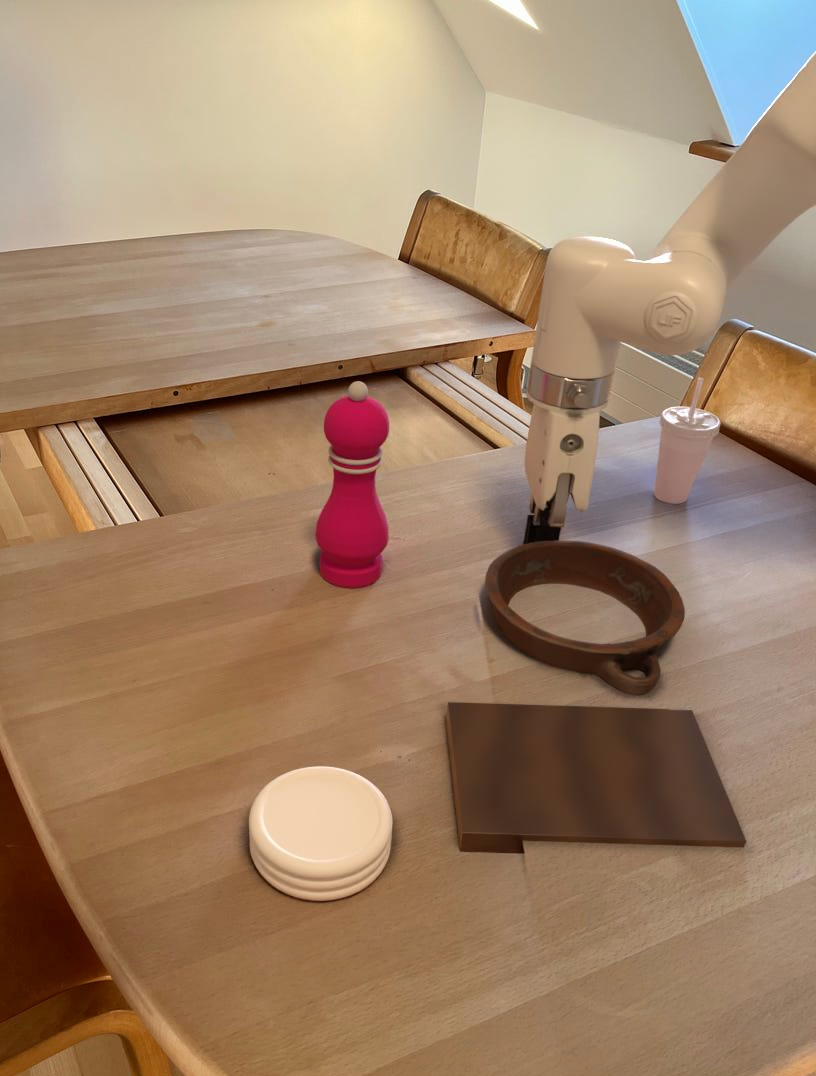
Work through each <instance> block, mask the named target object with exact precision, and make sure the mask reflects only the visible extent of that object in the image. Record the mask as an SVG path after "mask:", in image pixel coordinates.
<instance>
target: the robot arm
mask: <svg viewBox="0 0 816 1076" xmlns="http://www.w3.org/2000/svg"><path fill="white" fill-rule="evenodd" d="M815 206H816V50H815V51H814V53H812V55H811V56H810V57H809V59H808V60H807V61H806V63H804V65H803V66H802V67H801V68H800V70H799V71H798V72H797V73H796V75H795V76H794V77H793V78H792V79H791V81H789V82H788V84H787V85H786V86H785V88H783V90H782V91H781V92H780V93H779V95H777V97H776V98H775V99H774V100H773V102H772V103H771V105H770V106H769V107H768V108H767V109H766V110H765V112H764V113H763V114H762V115H761V117H760V118H759V119H758V120H757V121H756V122H755V124H754V125H753V126H752V127H751V129H750V130H749V132H748V133H747V134H746V136H745V138H744V139H743V140H742V142H741V144H740V145H739V146H738V147H737V148H736V150H735V151H734V153H732V155H731V156H730V157H729V158H728V159H727V161H726V162H725V163H724V164H723V166H721V167H720V169H719V170H718V171H717V172H716V174H715V175H714V176H713V177H712V178H711V180H710V181H709V182H708V183H707V184H706V185H705V186H704V188H703V189H702V190H701V191H700V193H699V194H698V195H697V196H696V198H695V199H694V200H693V201H692V202H691V204H690V205H689V206H688V207H687V209H686V210H685V211H684V212H683V213H682V215H680V217H679V218H678V219H677V220H676V222H675V223H674V224H673V225H672V227H671V228H670V229H669V230H668V232H667V233H666V234H665V235H663V238H661V240H660V241H659V243H658V244H657V245H656V246H655V247H654V249H653V250H652V251H651V253H650V254H649V256H648V257H647V258H646V260H645V261H643V260H637V259H636V256H635V253H634V251H632V249H631V248H630V247H629V246H628V245H626V244H623V243H622V242H620V241H616V240H613V239H610V238H605V237H597V236H576V237H575V236H574V237H570V238H569V237H568V238H565V239H562V240H560V241H559V242H557V243H555V245H554V246H553V247H551V249H550V251H549V253H548V256H547V258H546V264H545V267H544V268H545V269H544V275H543V281H542V282H543V283H542V288H541V289H542V290H541V296H540V302H539V309H538V315H537V320H536V321H537V322H536V328H535V334H534V340H533V347H532V354H531V361H530V368H529V373H528V380H527V386H526V393H525V396H526V399H527V400H528V401H529V402H530V403H532V404H533V406H532V411H531V416H530V421H529V427H528V432H527V438H526V445H525V452H524V453H525V454H524V471H525V475H526V479H527V483H528V485H529V489H530V491H531V493H530V500H529V506H528V509H529V511H528V512H529V514H527V517H526V518H527V519H526V523H525V530H524V535H523V540H522V541H523V542H522V545H524V544H528V543H533V542H539V541H555V540H558V541H560V536H561V530H562V528H564V527H565V525H566V519H567V518H566V516H567V510H568V502H569V499H570V498H571V500H572V502H573V505H574V507H575V510H576V511H579V512H584V511H586V510H587V509H588V506H589V502H590V498H591V497H590V496H591V490H592V483H593V479H594V472H595V465H596V460H597V451H598V443H599V433H600V420H601V419H600V417H601V414H600V412H602V411H603V410H604V409H606V408H607V407H608V404H609V400H610V394H611V390H612V385H613V381H614V376H615V372H616V371H615V370H616V367H617V362H618V358H619V352H620V349H621V348H620V347H621V343H623V344H625V345H629V346H632V347H634V348H636V349H640V350H642V351H646V352H648V353H652V354H656V355H662V356H679V355H685V354H689V353H692V352H693V351H696V350H697V349H699V348H700V347H702V346H703V345H704V344H705V343H706V342H708V341H709V340H710V339H711V337H712V336H713V334H714V333H715V331H716V330H717V328H718V326H719V324H720V321H721V317H722V314H723V309H724V306H725V300H726V296H727V292H728V291H729V290H730V289H731V287H732V286H733V285H734V284H735V282H736V281H738V280H739V278H740V277H741V276H742V275H743V273H745V272H746V271H747V269H748V268H749V267H750V266H751V265H752V264H753V263H754V261H756V260H757V258H758V257H759V256H760V255H761V254H762V253H763V252H764V251H765V249H766V248H768V246H770V244H772V242H773V241H774V240H775V239H776V238H777V237H778V236H779V235H780V234H781V233H782V232H783V231H784V230H785V229H786V228H788V227H789V226H790V225H791V224H792V223H793V222H794V221H795V220H797V219H798V218H799V217H800V216H801V215H803V214H804V213H805V212H807V211H808V210H810V209H812V208H813V207H815Z"/></svg>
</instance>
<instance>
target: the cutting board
mask: <svg viewBox="0 0 816 1076" xmlns="http://www.w3.org/2000/svg"><path fill="white" fill-rule="evenodd" d="M445 726H446V735H447V745H448V753H449V763H450V771H451V772H450V773H451V782H452V790H453V799H454V807H455V808H454V809H455V810H454V811H455V817H456V826H457V836H458V845H459V851H460V852H472V853H474V852H477V853H478V852H480V853H504V854H505V853H507V854H508V853H509V854H525V852H526V851H525V847H524V842H546V843H547V842H551V843H552V842H553V843H580V844H581V843H582V844H583V843H584V844H617V845H643V846H644V845H647V846H648V845H649V846H679V847H680V846H681V847H711V848H712V847H713V848H741V849H742V848H745V846H746V844H747V839H746V837H745V834H744V832H743V830H742V827H741V824H740V822H739V820H738V818H737V815H736V813H735V811H734V808H733V805H732V803H731V801H730V799H729V796H728V794H727V791H726V789H725V785H724V784H723V781H722V778H721V777H720V774H719V771H718V769H717V767H716V765H715V763H714V760H713V757H712V755H711V753H710V750H709V747H708V744H707V742H706V740H705V738H704V735H703V733H702V731H701V729H700V726H699V723H698V721H697V719H696V716H695V714H694V711H693V709H679V708H677V709H675V708H646V707H645V708H644V707H615V706H585V705H584V706H583V705H552V704H551V705H547V704H517V703H515V704H514V703H489V702H485V703H484V702H457V701H455V702H454V701H451V702H450V701H448V702H447V708H446V715H445Z"/></svg>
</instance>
